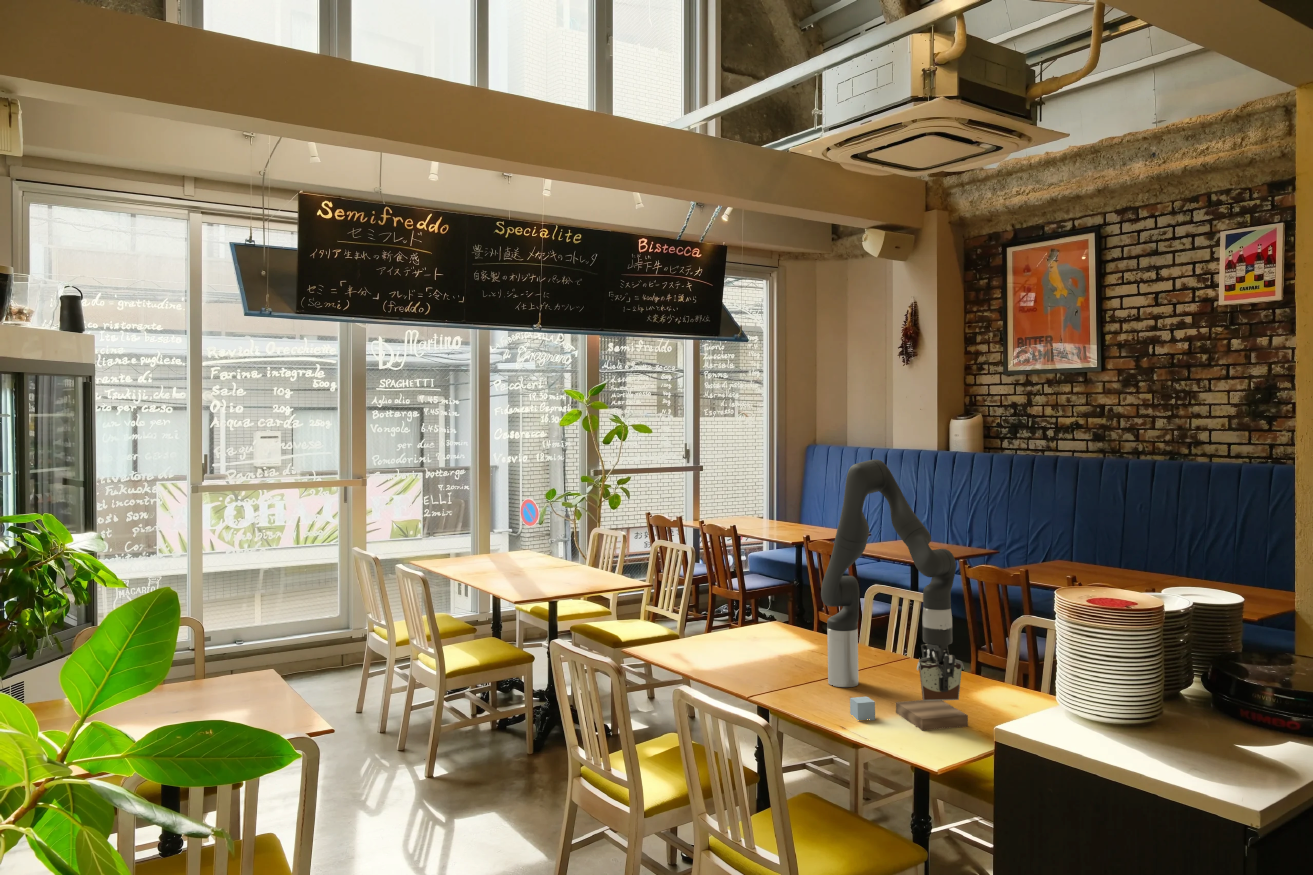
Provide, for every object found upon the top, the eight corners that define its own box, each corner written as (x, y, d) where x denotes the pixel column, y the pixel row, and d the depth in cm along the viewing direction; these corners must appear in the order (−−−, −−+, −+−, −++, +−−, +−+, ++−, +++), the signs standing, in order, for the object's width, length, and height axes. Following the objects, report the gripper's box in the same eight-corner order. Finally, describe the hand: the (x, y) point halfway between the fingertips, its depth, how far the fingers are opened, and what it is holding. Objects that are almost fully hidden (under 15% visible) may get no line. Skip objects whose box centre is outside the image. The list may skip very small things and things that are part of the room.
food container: (955, 692, 240) (955, 655, 240) (964, 699, 234) (964, 661, 234) (910, 693, 240) (910, 656, 239) (918, 700, 233) (917, 663, 233)
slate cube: (850, 716, 244) (850, 697, 244) (867, 714, 245) (867, 696, 245) (857, 721, 239) (857, 703, 239) (875, 720, 240) (874, 701, 240)
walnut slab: (895, 712, 245) (895, 702, 245) (939, 709, 248) (938, 698, 248) (922, 730, 231) (922, 718, 231) (968, 726, 233) (967, 715, 233)
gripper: (911, 620, 242) (912, 682, 242) (937, 631, 228) (938, 697, 228) (936, 618, 244) (937, 680, 244) (964, 629, 230) (965, 695, 230)
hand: (938, 688), depth 236 cm, fingers closed on food container, 5 cm apart
